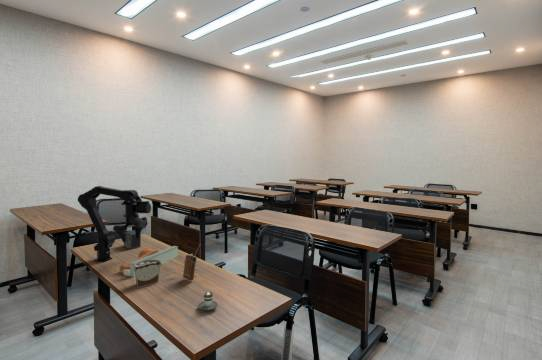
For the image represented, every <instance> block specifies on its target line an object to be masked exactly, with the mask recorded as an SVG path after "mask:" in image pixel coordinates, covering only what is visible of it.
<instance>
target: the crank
mask: <svg viewBox="0 0 542 360" xmlns="http://www.w3.org/2000/svg"><path fill="white" fill-rule="evenodd" d="M157 252H159V251H158V250H154V249H150V248H143V249H142V250H140V252H139V254H138V257H137V258H136V259H135V260H132V262H134V261H136V260H139V259H141V258H144V257H146V256H149V255H152V254H154V253H157ZM125 269H127V270H130V263H128V264H126V263H125V264H122V265H120V266H119V271H120V273H121V274H124V270H125Z"/></svg>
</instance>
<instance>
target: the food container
mask: <svg viewBox="0 0 542 360" xmlns="http://www.w3.org/2000/svg"><path fill="white" fill-rule="evenodd" d="M161 266H162V264H161V262H160V261H159V260H153V259H151V260H143V261H140V262H137V263H136V264H135V265H134V269H133V271H135V282H136V288H137V289H139V288H143V287H146V286H149V285H153V284H158V283H159V281H160V280H159V278H160V270H161V269H160V268H161Z"/></svg>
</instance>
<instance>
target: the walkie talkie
mask: <svg viewBox="0 0 542 360" xmlns="http://www.w3.org/2000/svg"><path fill="white" fill-rule="evenodd" d="M200 247H201V243H200V244H199V246H198V248H197V249H196V251H195V253H190V254H186V256H185V261H184V263H183V264H184V266H183V267H184V268H183V273H181V274H180V273H177V274H172V275H170V276H167V277H166V278H171V277H174V276H183V279H186V280H188V281H193V280H194V277H196V278H197V277H198V274H196V273H195V271H196V264H197V263H196V262H197V256H196V255H197V253H198V251H199V248H200Z"/></svg>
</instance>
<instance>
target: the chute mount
mask: <svg viewBox="0 0 542 360" xmlns="http://www.w3.org/2000/svg"><path fill="white" fill-rule="evenodd" d="M178 248H179V246H178V245H177V246H176V245H173V246H172V245H171V246H170V247H167V248H165V249H162V250H159V251H158V252H157V253H154V254H152V255H149V256H146V257H144V258H141V259H139V260H136V259H135V260H136V261H135V260H133V261H134V262H133V261H131V262H129V264H130V270H127V269H125V270H124V273H123V276H127V277H132V278H136V276H135V271H133V269H134V265H135V264H136V263H137V262H140V261H143V260H151V259H153V260H159V261H160V262H161V265H164V264H165V263H167V262H169V261H171V260H173V259H175V258H177V257H179V256H178V255H179V252H178V250H179V249H178Z"/></svg>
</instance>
